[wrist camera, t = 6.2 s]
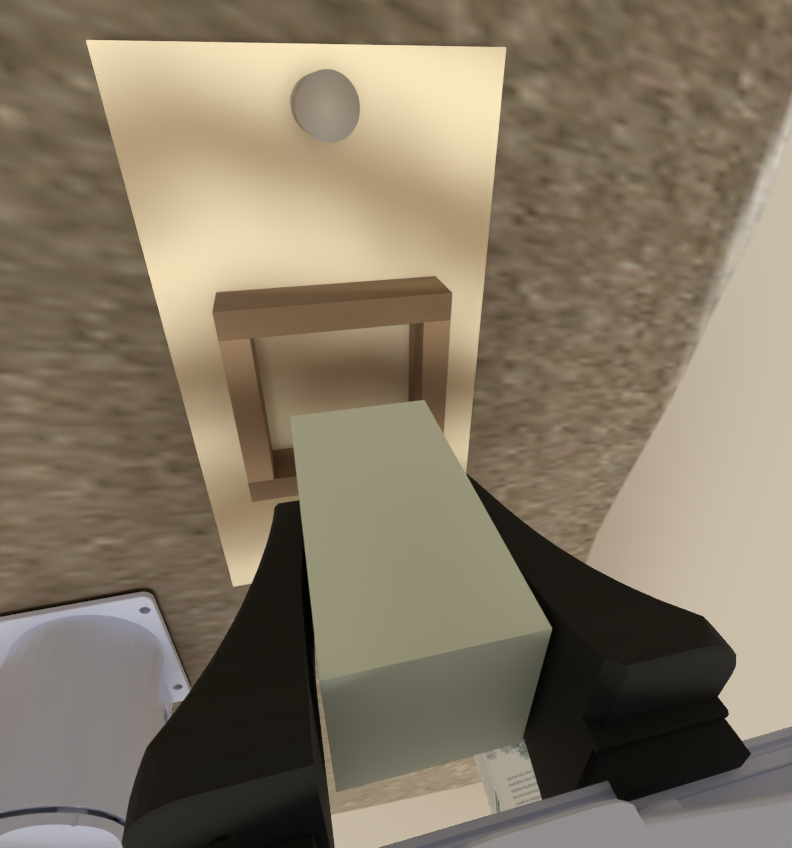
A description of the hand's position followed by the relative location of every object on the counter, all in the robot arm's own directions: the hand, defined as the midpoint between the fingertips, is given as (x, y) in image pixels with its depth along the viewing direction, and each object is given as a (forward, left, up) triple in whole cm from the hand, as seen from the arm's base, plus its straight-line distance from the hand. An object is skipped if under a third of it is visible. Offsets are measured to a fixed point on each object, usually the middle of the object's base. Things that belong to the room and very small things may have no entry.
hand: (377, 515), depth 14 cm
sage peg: (0, 0, -2) cm, 2 cm away
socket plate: (0, 0, -9) cm, 9 cm away
